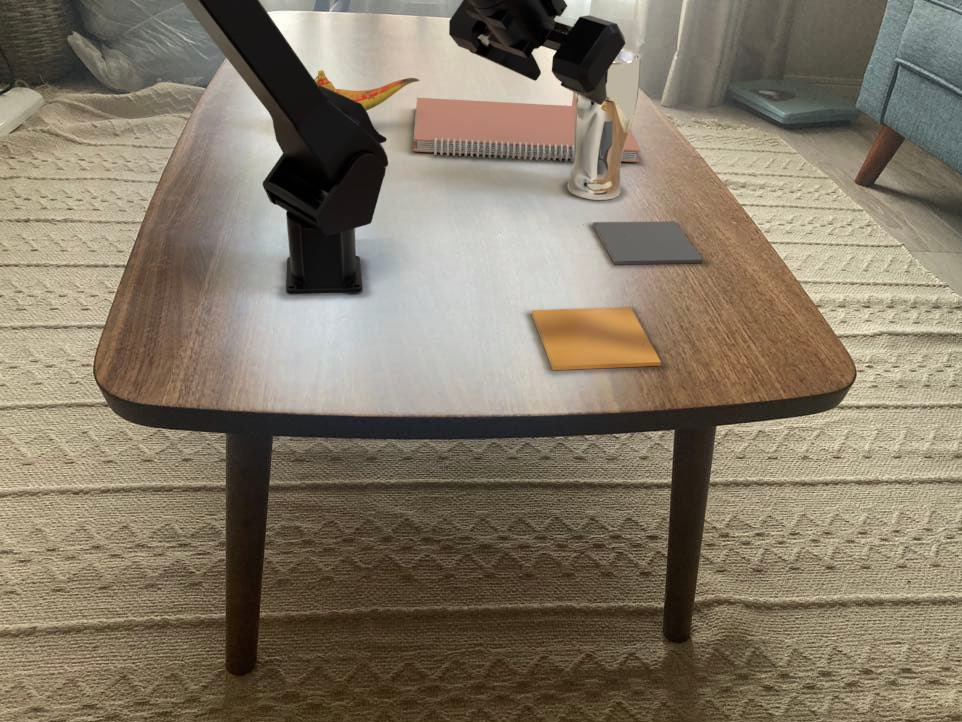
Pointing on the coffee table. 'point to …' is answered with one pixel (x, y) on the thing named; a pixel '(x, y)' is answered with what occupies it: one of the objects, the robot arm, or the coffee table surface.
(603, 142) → the beer glass
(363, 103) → the magic lamp
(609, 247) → the slate coaster
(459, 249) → the coffee table surface
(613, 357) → the honey coaster
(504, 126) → the notebook
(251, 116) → the coffee table surface
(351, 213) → the robot arm
